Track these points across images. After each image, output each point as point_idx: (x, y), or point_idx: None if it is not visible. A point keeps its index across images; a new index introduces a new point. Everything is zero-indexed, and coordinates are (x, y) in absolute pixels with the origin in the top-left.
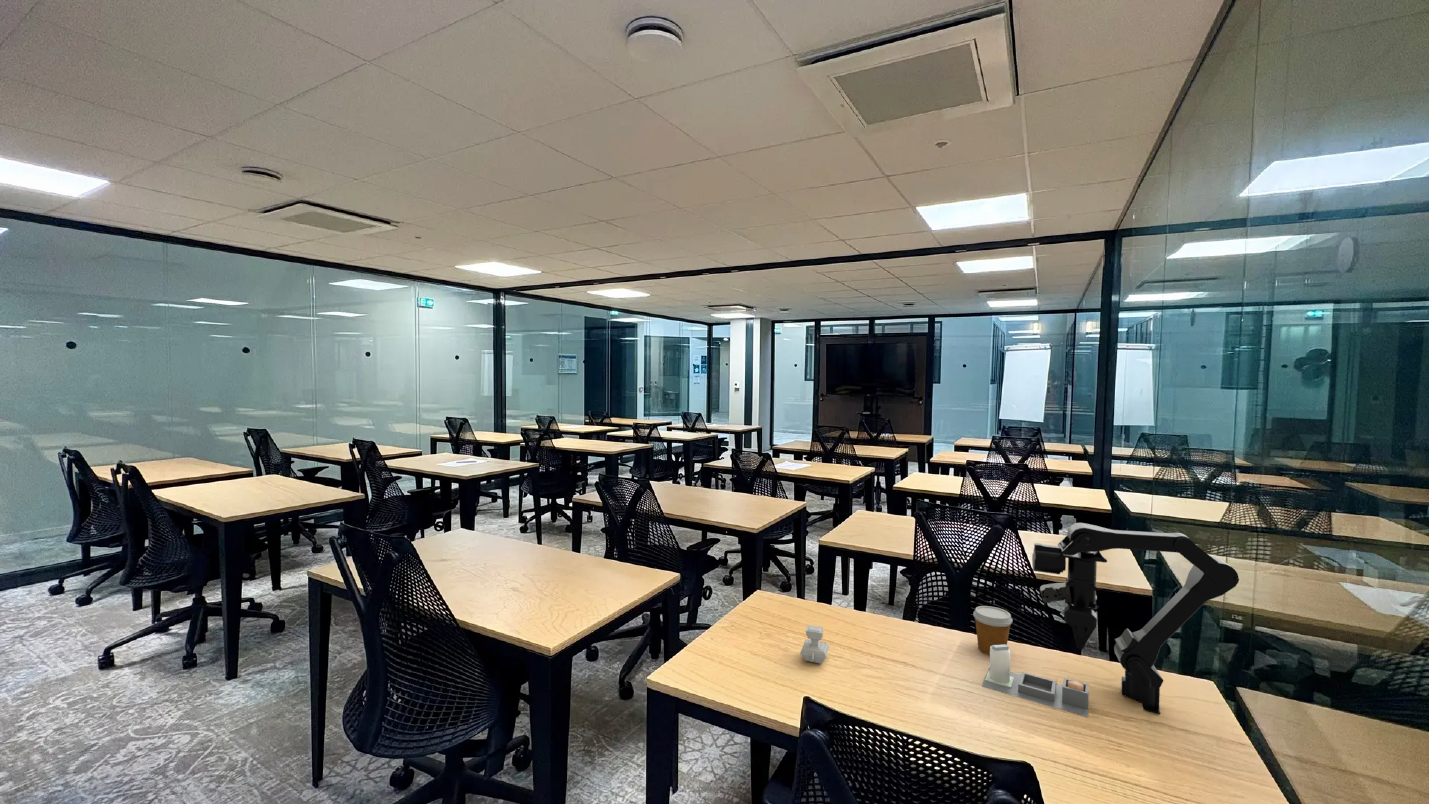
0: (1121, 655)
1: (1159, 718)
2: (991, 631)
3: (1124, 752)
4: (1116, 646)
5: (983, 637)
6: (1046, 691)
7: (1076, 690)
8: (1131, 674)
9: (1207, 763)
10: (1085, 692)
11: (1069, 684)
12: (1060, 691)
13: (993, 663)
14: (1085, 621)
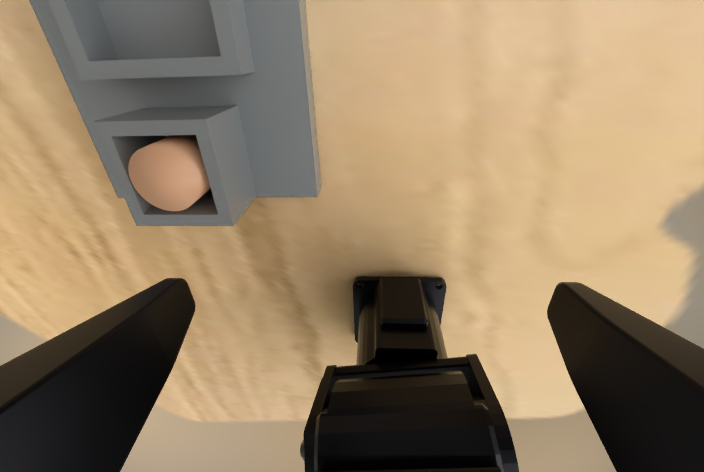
0: (320, 443)
1: (336, 334)
2: None
3: (78, 265)
4: (455, 436)
5: None
6: (70, 37)
7: (121, 182)
8: (319, 388)
9: (198, 377)
10: (139, 215)
11: (133, 154)
12: (240, 93)
13: None
14: None
